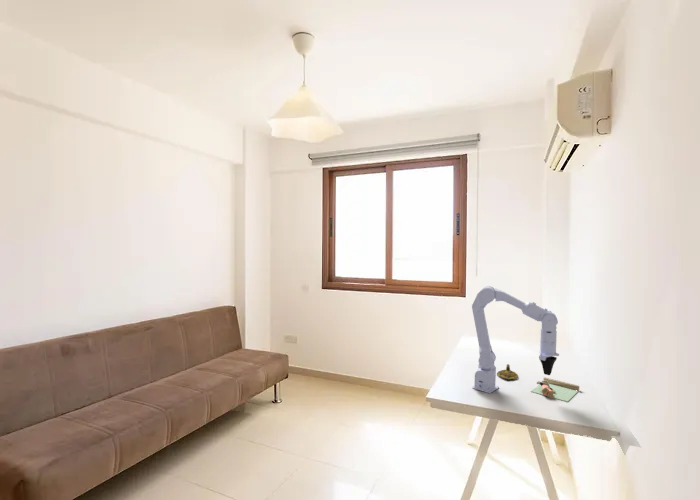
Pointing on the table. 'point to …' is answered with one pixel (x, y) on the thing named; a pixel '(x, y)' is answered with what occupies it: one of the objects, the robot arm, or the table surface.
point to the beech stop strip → (562, 384)
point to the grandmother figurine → (546, 389)
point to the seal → (507, 374)
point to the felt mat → (557, 392)
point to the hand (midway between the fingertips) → (547, 374)
